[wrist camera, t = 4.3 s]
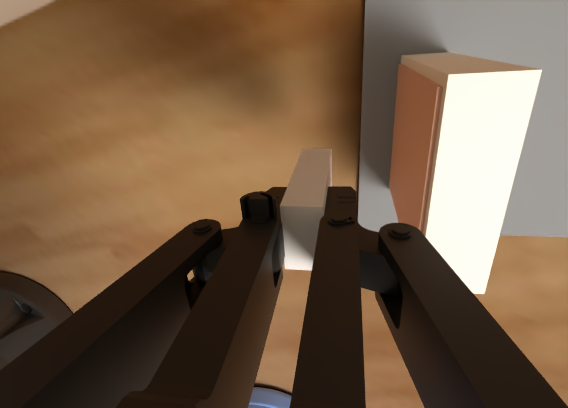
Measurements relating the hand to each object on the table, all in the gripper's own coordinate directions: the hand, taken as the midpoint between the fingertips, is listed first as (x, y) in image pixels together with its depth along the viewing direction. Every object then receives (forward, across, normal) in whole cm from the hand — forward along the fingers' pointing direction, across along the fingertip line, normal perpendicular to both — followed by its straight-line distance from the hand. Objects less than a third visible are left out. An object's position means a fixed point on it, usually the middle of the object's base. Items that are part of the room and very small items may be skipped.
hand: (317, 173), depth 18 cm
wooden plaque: (+9, -6, 0) cm, 11 cm away
